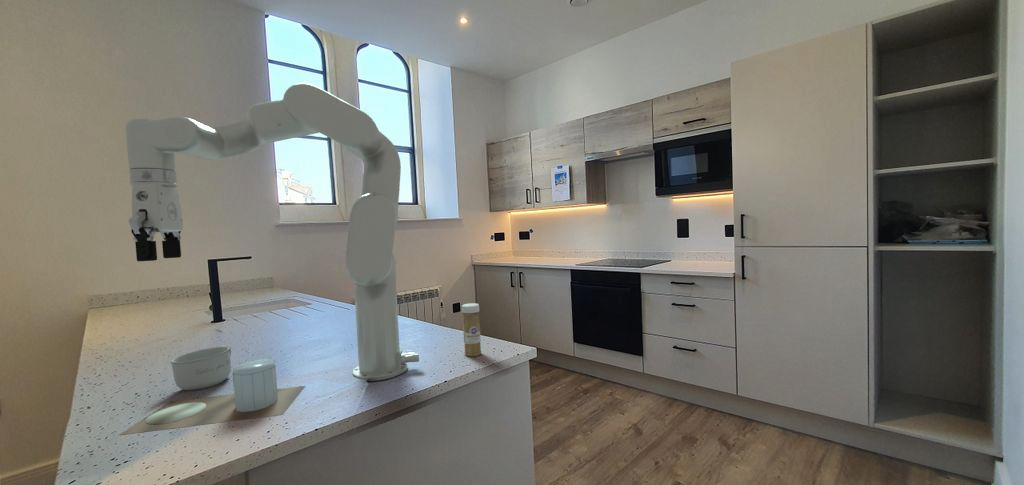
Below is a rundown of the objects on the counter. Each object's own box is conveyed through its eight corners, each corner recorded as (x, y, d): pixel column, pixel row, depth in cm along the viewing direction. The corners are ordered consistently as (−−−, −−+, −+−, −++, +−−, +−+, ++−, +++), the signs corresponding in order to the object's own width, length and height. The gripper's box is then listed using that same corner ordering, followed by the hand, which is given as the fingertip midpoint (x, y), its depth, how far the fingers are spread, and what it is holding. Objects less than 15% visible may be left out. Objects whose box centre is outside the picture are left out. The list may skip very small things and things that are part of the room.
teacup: (200, 397, 87) (197, 361, 86) (160, 395, 89) (157, 360, 89) (254, 373, 100) (251, 342, 100) (218, 372, 103) (215, 341, 102)
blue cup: (282, 394, 84) (279, 357, 84) (269, 408, 78) (266, 368, 77) (245, 398, 83) (242, 361, 83) (228, 413, 76) (225, 373, 76)
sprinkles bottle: (469, 358, 104) (467, 306, 104) (461, 354, 108) (458, 304, 108) (484, 354, 107) (482, 304, 107) (476, 350, 111) (473, 302, 110)
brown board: (305, 389, 89) (304, 375, 88) (282, 418, 75) (281, 401, 75) (170, 405, 84) (169, 389, 83) (119, 439, 70) (117, 421, 70)
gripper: (152, 173, 79) (159, 261, 80) (193, 183, 95) (199, 255, 96) (104, 174, 77) (112, 263, 77) (155, 184, 93) (161, 258, 94)
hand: (160, 259), depth 87 cm, fingers open, 9 cm apart
